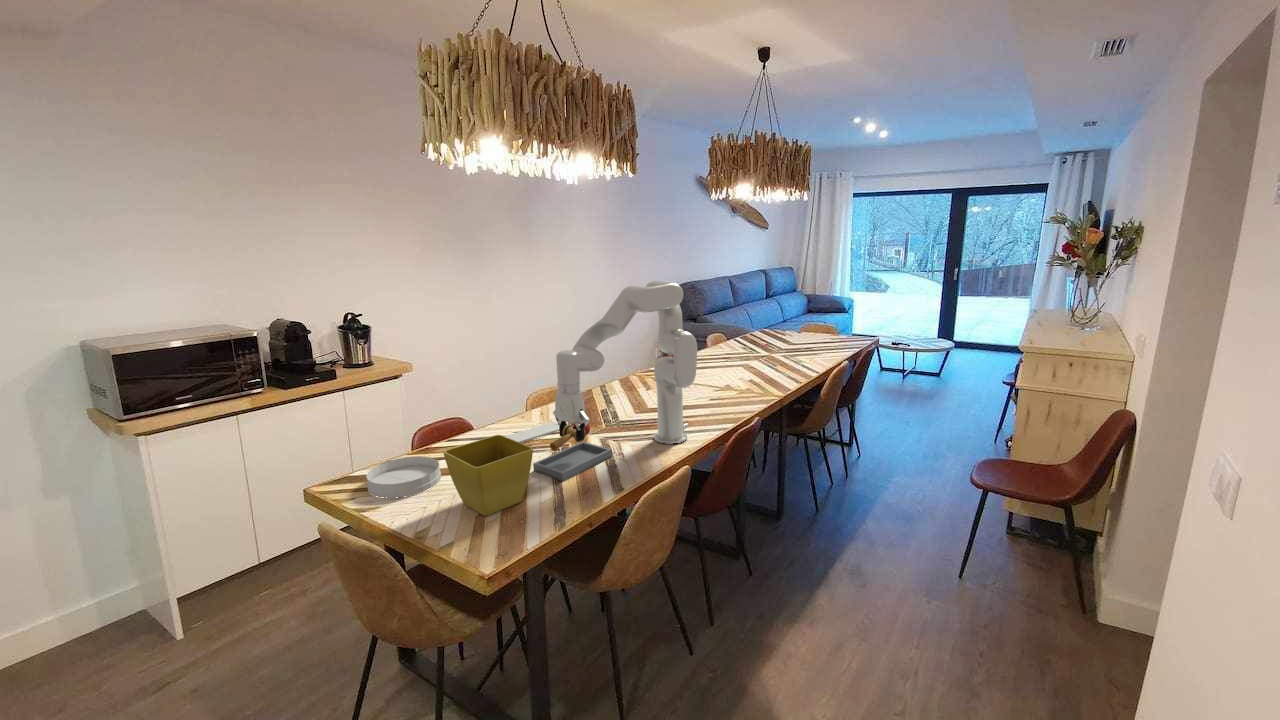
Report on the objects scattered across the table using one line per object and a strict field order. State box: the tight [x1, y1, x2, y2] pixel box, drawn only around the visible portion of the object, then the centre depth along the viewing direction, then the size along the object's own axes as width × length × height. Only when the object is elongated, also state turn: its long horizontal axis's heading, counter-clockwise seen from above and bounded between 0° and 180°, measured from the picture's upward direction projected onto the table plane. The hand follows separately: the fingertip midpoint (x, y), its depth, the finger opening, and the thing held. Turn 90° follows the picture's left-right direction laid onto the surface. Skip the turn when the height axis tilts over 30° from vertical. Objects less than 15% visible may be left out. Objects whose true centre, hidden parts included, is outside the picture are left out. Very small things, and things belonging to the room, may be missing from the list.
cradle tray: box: [532, 441, 613, 482], centre depth 191 cm, size 24×14×3 cm, turn 142°
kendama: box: [549, 420, 591, 452], centre depth 189 cm, size 8×6×18 cm
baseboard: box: [505, 418, 560, 443], centre depth 221 cm, size 31×3×12 cm
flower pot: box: [442, 434, 534, 517], centre depth 164 cm, size 19×19×17 cm
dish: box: [366, 455, 442, 499], centre depth 180 cm, size 22×22×5 cm
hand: (572, 437), depth 189 cm, fingers closed on kendama, 7 cm apart
